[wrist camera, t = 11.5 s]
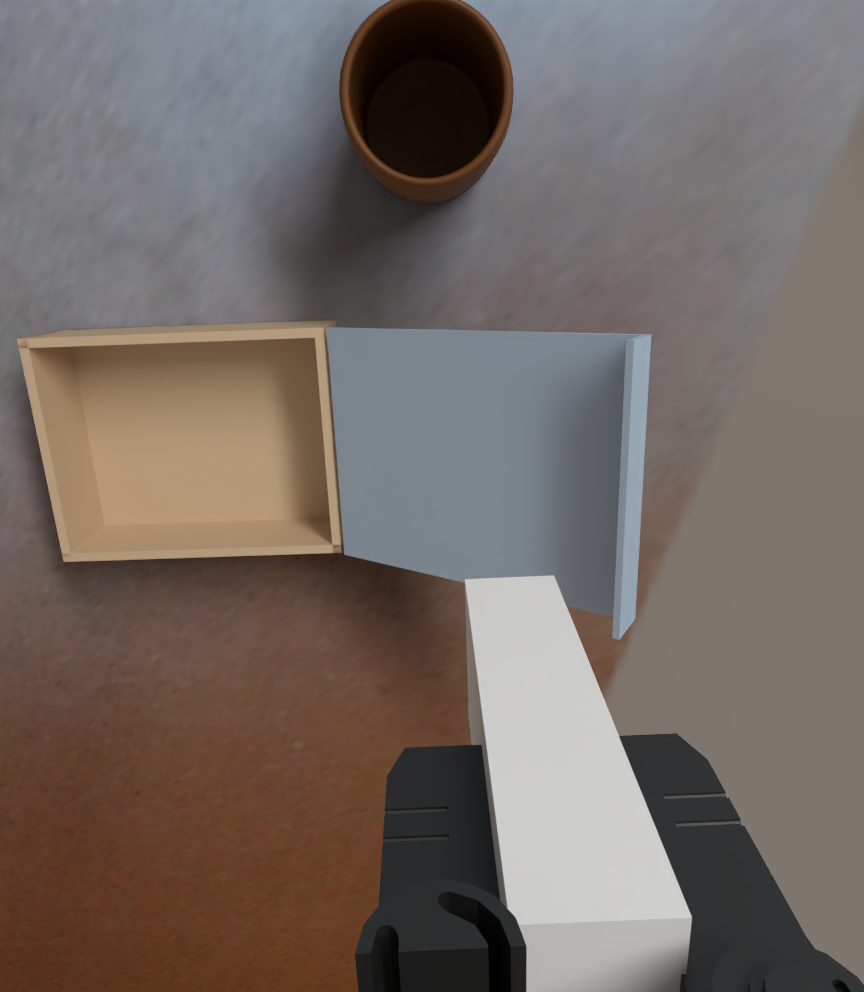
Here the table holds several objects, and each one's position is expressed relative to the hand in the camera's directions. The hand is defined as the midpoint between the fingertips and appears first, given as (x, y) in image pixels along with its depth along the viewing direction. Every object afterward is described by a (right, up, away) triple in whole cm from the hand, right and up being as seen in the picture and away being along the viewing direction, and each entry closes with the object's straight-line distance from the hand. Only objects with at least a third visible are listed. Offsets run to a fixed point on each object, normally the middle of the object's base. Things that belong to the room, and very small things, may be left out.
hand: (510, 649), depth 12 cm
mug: (-1, +25, +26) cm, 36 cm away
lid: (-1, +4, +21) cm, 21 cm away
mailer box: (-15, +7, +32) cm, 36 cm away
